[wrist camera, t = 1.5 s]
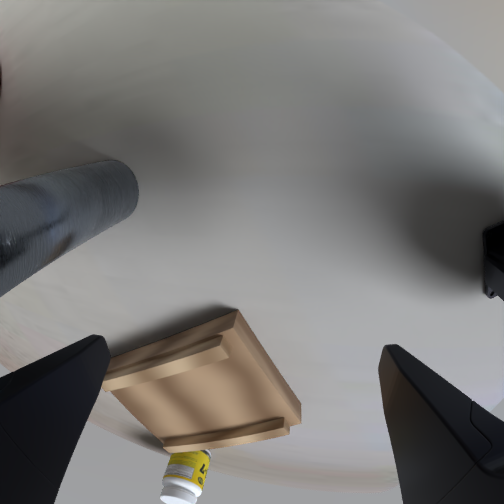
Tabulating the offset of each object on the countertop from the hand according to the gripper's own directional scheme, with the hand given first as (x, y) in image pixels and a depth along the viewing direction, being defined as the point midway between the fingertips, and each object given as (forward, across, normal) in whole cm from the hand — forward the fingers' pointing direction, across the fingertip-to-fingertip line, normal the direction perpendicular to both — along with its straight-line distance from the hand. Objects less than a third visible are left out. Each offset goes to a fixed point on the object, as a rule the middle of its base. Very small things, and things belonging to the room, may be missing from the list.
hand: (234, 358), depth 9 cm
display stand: (+13, +7, +15) cm, 21 cm away
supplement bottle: (+13, +10, +28) cm, 32 cm away
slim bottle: (+13, +11, -4) cm, 18 cm away
